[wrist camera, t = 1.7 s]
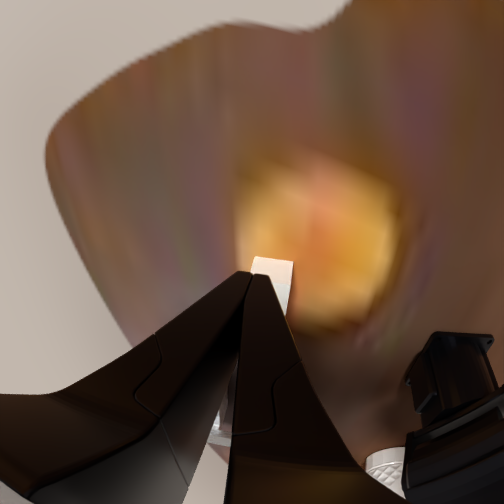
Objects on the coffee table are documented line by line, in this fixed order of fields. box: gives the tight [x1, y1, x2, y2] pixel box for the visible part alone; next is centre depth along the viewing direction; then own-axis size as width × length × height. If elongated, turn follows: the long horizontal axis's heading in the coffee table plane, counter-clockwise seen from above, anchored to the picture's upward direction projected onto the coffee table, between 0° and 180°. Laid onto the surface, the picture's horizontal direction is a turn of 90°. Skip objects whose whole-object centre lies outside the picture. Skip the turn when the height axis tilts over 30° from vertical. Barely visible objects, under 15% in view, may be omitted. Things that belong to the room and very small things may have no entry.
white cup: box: [365, 447, 406, 499], centre depth 29 cm, size 8×8×10 cm
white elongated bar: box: [250, 256, 293, 315], centre depth 23 cm, size 16×3×3 cm, turn 176°
